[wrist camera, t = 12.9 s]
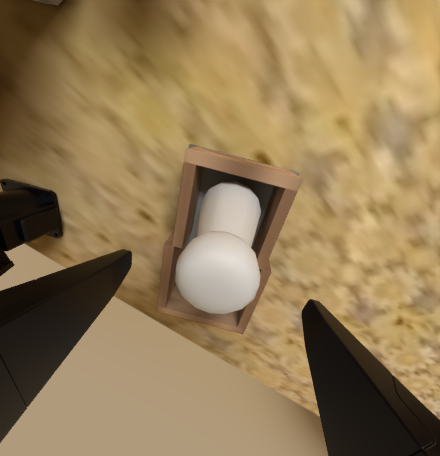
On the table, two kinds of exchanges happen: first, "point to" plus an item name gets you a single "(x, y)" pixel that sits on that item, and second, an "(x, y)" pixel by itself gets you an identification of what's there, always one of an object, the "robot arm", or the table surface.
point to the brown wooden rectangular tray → (189, 221)
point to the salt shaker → (222, 252)
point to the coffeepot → (49, 2)
